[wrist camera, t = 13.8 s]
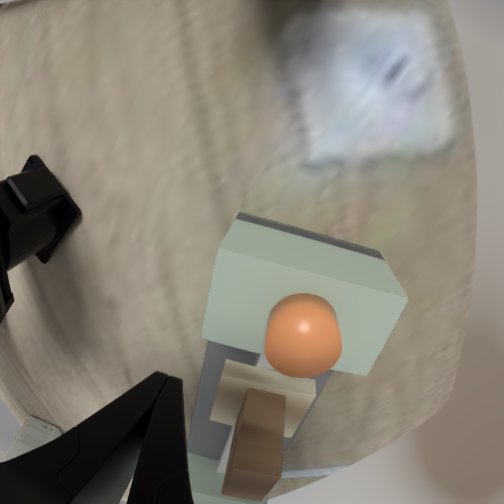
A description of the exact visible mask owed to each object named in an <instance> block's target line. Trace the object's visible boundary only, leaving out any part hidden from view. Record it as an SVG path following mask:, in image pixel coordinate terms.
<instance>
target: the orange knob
mask: <svg viewBox="0 0 504 504" xmlns="http://www.w3.org/2000/svg"><path fill="white" fill-rule="evenodd" d="M264 351H265V356H266V359H267V361H268V362H269V364H270V365H271V366H272V367H273V368H274V369H275V370H277V371H278V372H280V373H282V374H284V375H286V376H290V377H295V378H308V377H314V376H317V375H320V374H322V373H324V372H326V371H328V370H329V369H330V368H332V367H333V366H334V365H335V364H336V362H337V361H338V359H339V358H340V355H341V352H342V340H341V335H340V330H339V325H338V321H337V316H336V312H335V310H334V308H333V307H332V305H331V304H330V303H329V302H328V301H327V300H325V299H324V298H322V297H320V296H317V295H314V294H310V293H298V294H293V295H290V296H287V297H285V298H283V299H282V300H280V301H279V302H278V303H277V304H276V305H275V306H274V307H273V308H272V310H271V312H270V314H269V317H268V324H267V332H266V339H265V348H264Z"/></svg>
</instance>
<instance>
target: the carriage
mask: <svg viewBox="0 0 504 504" xmlns="http://www.w3.org/2000/svg"><path fill="white" fill-rule="evenodd" d="M315 397H316V384H315V379H310V378H295V377H290V376H286V375H284V374H282V373H280V372H277V371H272V370H268V369H264V368H260V367H256V366H252V365H248V364H244V363H240V362H236V361H232V360H228V359H226V361H225V364H224V368H223V371H222V375H221V379H220V382H219V386H218V390H217V394H216V397H215V401H214V405H213V408H212V412H211V416H210V420H212V421H216V422H219V423H223V424H227V425H231V426H235V428H234V433H233V438H232V443H231V448H230V452H229V457H228V462H227V467H226V472H225V476H224V481H223V486H222V491H221V494H222V495H226V496H231V497H236V498H241V499H247V500H252V501H258V502H261V501H262V500H263V498H264V497H265V496H266V495H267V494H268V492H269V491H270V490H271V489H272V488H273V486H274V485H275V484H276V483H277V481H278V480H279V479H280V478H281V472H282V458H283V444H284V437H290V438H291V437H292V435H293V434H294V432H295V430H296V429H297V427H298V426H299V424H300V422H301V421H302V419H303V417H304V416H305V414H306V412H307V411H308V409H309V407H310V406H311V404H312V402H313V400H314V399H315Z"/></svg>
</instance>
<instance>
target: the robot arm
mask: <svg viewBox="0 0 504 504" xmlns="http://www.w3.org/2000/svg"><path fill="white" fill-rule="evenodd" d="M33 159H34V162H33ZM72 210H73V211H74V214H75V215H74V214H73V213H72ZM79 216H80V210H79V208H78V207H77V205H76V204H75V203H74V202H73V200H72V199H71V198H70V197H69V196H68V194H67V193H66V192H65V191H64V189H63V188H62V186H61V185H60V184H59V183H58V181H57V180H56V179H55V177H54V176H53V175H52V174H51V172H50V171H49V170H48V168H47V167H46V166H45V165H44V163H43V162H42V161H41V159H40V158H39V157H38V156H37V155H31V156H30V157H29V158H28V160H27V162H26V164H25V165H24V167H23V169H22V171H21V173H19V174H16V175H12V176H9V177H7V179H6V180H3V181H0V323H1V322H2V320H3V318H4V317H5V315H6V313H7V312H8V310H9V309H10V307H11V305H12V304H13V302H14V297H13V293H12V292H11V288H10V284H9V279H8V274H7V272H8V271H9V270H11V269H12V268H14V267H15V266H17V265H18V264H20V263H21V262H23V261H24V260H26V259H28V258H29V257H31V256H32V255H34V254H35V255H36V256H37V257H38V258H39V260H40V261H41V262H42V263H44V264H46V263H47V262H49V261H50V259H51V258H52V256H53V255H54V253H55V251H56V250H57V248H58V247H59V245H60V244H61V242H62V241H63V239H64V238H65V236H66V235H67V233H68V232H69V231H70V229H71V228H72V226H73V225H74V223H75V222H76V221H77V219H78V218H79ZM188 469H189V467H188V456H187V444H186V431H185V416H184V399H183V381H182V379H181V378H178V377H175V376H169V375H168V374H165V373H162V372H159V371H156V372H154V373H153V374H151V375H150V376H148V377H147V378H145V379H144V380H143V381H141V382H140V383H138V384H137V385H135V386H134V387H133V388H131V389H130V390H128V391H127V392H125V393H124V394H122V395H121V396H120V397H118V398H117V399H115V400H114V401H112V402H111V403H109V404H108V405H106V406H105V407H103V408H102V409H100V410H99V411H97V412H96V413H94V414H93V415H91V416H90V417H88V418H87V419H85V420H84V421H82V422H81V423H79V424H78V425H77V427H76V426H75V427H73V428H72V429H70V430H69V431H67V432H66V433H64V434H62V435H61V436H59V437H57V438H55V439H54V440H52V441H50V442H48V443H46V444H44V445H42V446H40V447H37V448H35V449H33V450H31V451H28V452H26V453H24V454H22V455H19V456H17V457H15V458H12V459H10V460H7V461H4V462H0V504H119V502H120V500H121V498H122V496H123V494H124V492H125V491H126V489H127V487H128V485H129V483H130V481H131V479H132V477H133V475H134V477H133V481H132V485H131V488H130V492H129V496H128V500H127V504H194V501H193V497H192V491H191V484H190V475H189V471H188Z"/></svg>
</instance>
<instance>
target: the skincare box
mask: <svg viewBox="0 0 504 504" xmlns="http://www.w3.org/2000/svg"><path fill="white" fill-rule="evenodd" d="M61 435H62V432H61V431H60V429H59V428H58V427H56V426H54V425H51V424H49V423H47V422H45V421H42V420H40V419H38V418H35V417H33V416H29V417H28V419H27V420H26V422H25V423H24V425H23V426H22V428H21V429H20V431H19V432H18V434H17V436H16V437H15V439H14V440H13V442H12V443H11V445H10V446H9V448H8V450H7V451H6V453H5V454H4V456H3V458H2V459H1V461H0V462H4V461H7V460H10V459H12V458H15V457H17V456H19V455H22V454H24V453H26V452H28V451H31V450H33V449H35V448H37V447H40V446H42V445H44V444H46V443H48V442H50V441H52V440H54V439H55V438H57V437H59V436H61Z"/></svg>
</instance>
